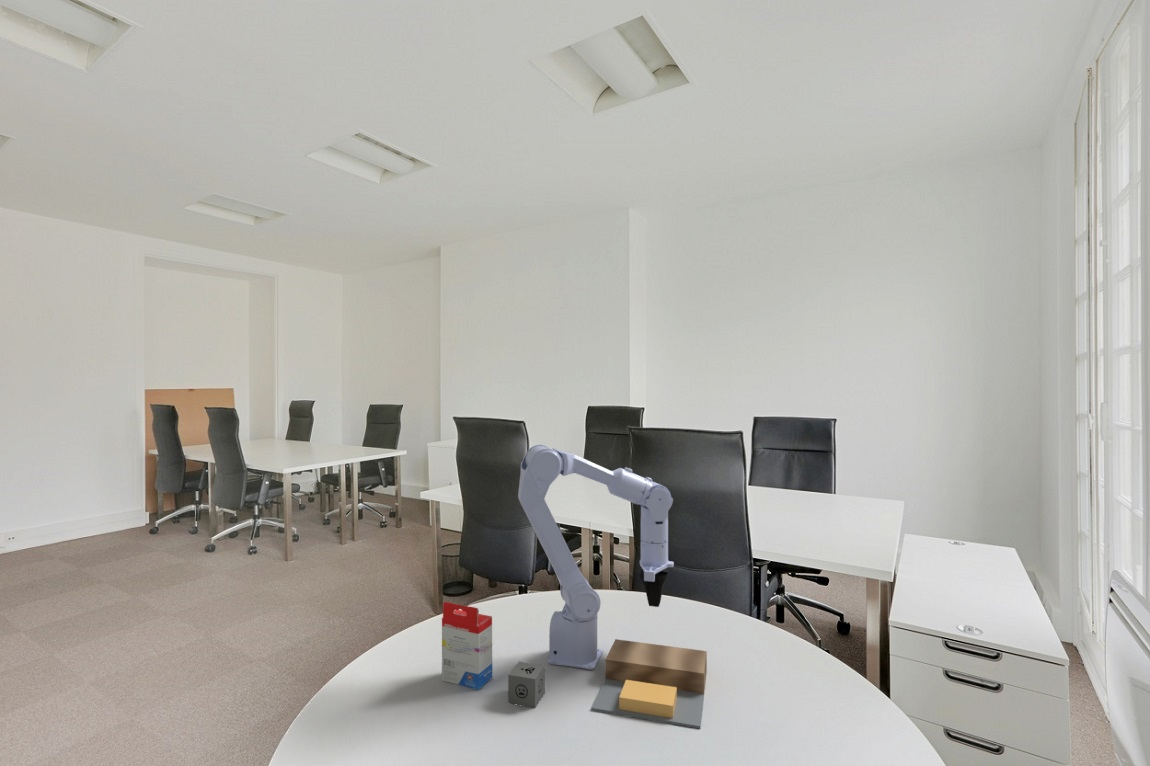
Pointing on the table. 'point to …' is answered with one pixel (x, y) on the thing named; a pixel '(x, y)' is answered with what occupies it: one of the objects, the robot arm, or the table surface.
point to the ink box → (466, 646)
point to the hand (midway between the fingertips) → (654, 605)
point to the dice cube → (526, 684)
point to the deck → (657, 665)
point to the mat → (684, 714)
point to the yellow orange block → (648, 698)
